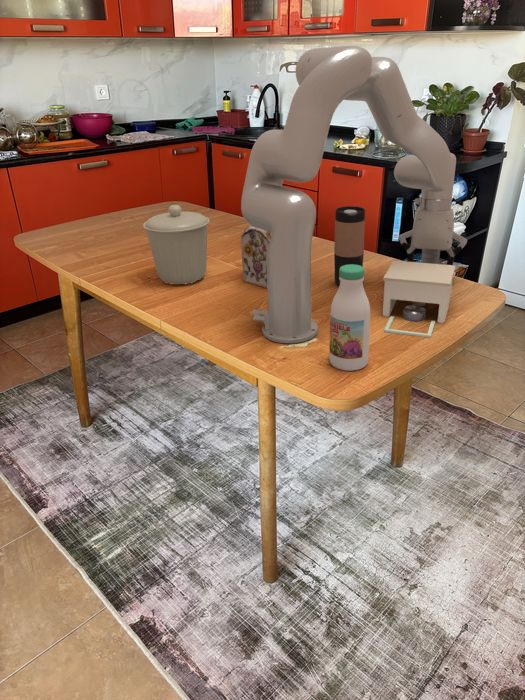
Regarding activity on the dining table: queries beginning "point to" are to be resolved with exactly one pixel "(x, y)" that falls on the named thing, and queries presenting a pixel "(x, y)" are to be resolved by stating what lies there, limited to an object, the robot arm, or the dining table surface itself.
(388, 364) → the dining table surface
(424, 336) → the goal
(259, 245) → the decorative jar
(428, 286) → the white open box
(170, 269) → the canister
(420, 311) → the ball
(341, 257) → the travel mug
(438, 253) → the grey block on stick
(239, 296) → the dining table surface
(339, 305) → the milk bottle
